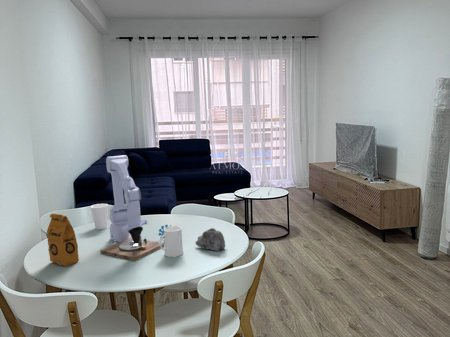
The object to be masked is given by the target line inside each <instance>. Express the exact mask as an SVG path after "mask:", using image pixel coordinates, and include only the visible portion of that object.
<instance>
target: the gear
mask: <svg viewBox="0 0 450 337" xmlns="http://www.w3.org/2000/svg"><path fill="white" fill-rule="evenodd" d="M170 226H172V225H168V224H165V225H162V226H161V228H159V230H158V232H159V233H158V236H160V237H159V238H160V239H161V237H162V236H163V235H164V228H166V227H170ZM160 239H159V240H160ZM163 239H164V237H163Z"/></svg>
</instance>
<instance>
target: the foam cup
mask: <svg viewBox="0 0 450 337" xmlns="http://www.w3.org/2000/svg"><path fill="white" fill-rule="evenodd" d="M90 211H91V216H92V219H93V223H94V228H95V229H96V230H104V229H107V228H108V220H109V204H108V203H96V204H92V205H91V206H90Z"/></svg>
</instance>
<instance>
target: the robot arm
mask: <svg viewBox="0 0 450 337" xmlns="http://www.w3.org/2000/svg"><path fill="white" fill-rule="evenodd" d="M105 164H106V170H107V173H108V174H109V173H110V174H111V181H112V182H111V184H112V191H113V192H112V193H113V199H114V201H113V202H114V205H112V207H110V208H109V220H110V222H111V223H110V226H109V234H110V238H109V241H112V242H116V243H118V242H121V241H123V240H126V239H128V238H130V237H131V238H132V239H133V242H134V243H136V244H137V243H139V239H140V236H142V232H143V230H144V229H143V228H144V227H143V226H144V225H148V219H142V218H141V216H142V215H141V205H140V204H141V203H140V201H141V200H142V193H141V190H140V188H139V187H138V186H136V184H135V181H134V179H133V177H131V176H130V174H129V170H128V167H129V158H128V155H126V154H124V155H123V154H122V155H113V156H111V155H110V156H109V155H108V156H107V157H106V159H105Z"/></svg>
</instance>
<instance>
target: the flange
mask: <svg viewBox="0 0 450 337" xmlns="http://www.w3.org/2000/svg"><path fill="white" fill-rule="evenodd" d="M141 239H142V235H140V239H139V243H137V244H136V243H134V242H133V240H130V241H126V242H123V243H121V244H120V245H119V247H120V249H121V250H125V251H132V250H138V249H145V248H146V246H145V242H144V241H142V240H143V239H142V240H141Z"/></svg>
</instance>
